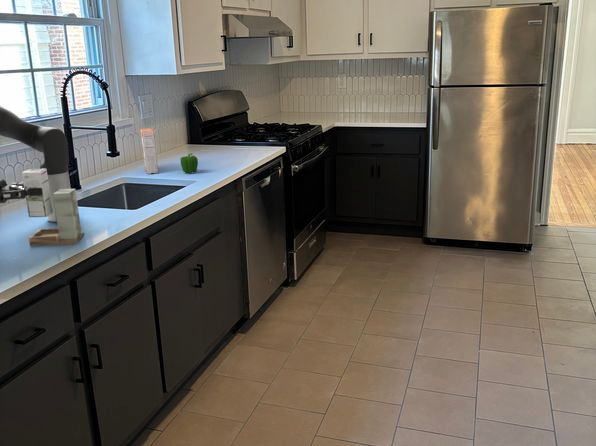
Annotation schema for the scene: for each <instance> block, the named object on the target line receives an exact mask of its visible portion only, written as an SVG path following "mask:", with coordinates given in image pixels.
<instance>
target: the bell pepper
mask: <svg viewBox="0 0 596 446" xmlns="http://www.w3.org/2000/svg"><path fill="white" fill-rule="evenodd" d="M179 161H180V166H181V170H182V171H183V173H184V172H185V173H184V174H193V173H192V172H195V173H196V172H197V170H198V166H199V165H198V164H199V159H198V158H197V157H196V156H195V155H193V152H189V153H188V154H187V156H181V157H180V160H179Z"/></svg>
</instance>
